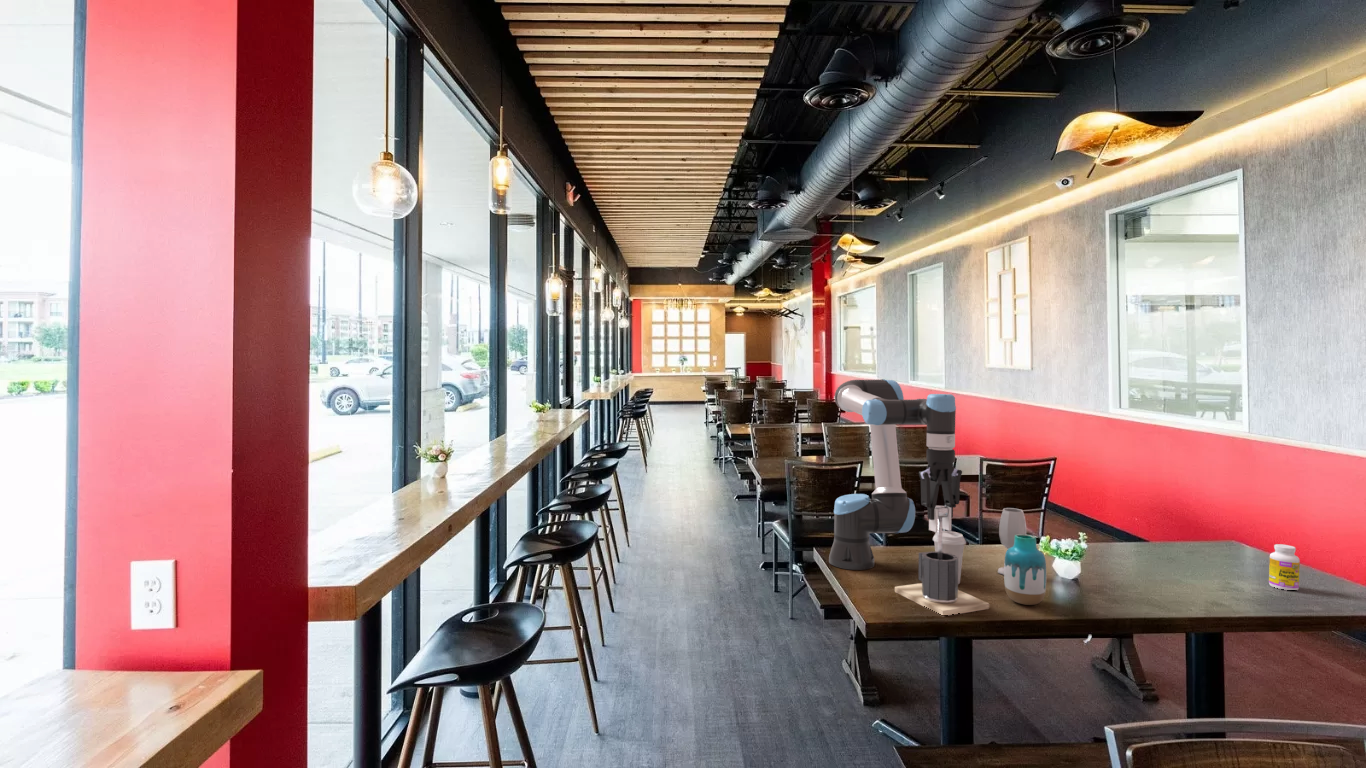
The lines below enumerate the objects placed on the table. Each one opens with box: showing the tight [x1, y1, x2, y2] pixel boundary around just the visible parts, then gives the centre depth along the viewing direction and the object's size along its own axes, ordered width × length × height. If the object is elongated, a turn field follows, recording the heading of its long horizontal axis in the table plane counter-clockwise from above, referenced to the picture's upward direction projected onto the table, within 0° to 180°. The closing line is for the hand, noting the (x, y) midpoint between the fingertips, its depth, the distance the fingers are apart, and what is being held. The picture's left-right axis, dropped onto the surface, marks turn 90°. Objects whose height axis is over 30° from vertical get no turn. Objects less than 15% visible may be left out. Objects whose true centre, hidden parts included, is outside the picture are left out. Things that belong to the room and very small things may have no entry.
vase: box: [1003, 533, 1047, 606], centre depth 179 cm, size 11×11×19 cm
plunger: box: [936, 505, 948, 560], centre depth 179 cm, size 6×6×21 cm
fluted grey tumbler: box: [918, 550, 959, 604], centre depth 181 cm, size 12×9×12 cm
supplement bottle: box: [1268, 543, 1300, 591], centre depth 192 cm, size 7×7×13 cm
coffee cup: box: [932, 530, 966, 585], centre depth 198 cm, size 10×10×15 cm
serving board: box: [894, 582, 990, 616], centre depth 182 cm, size 20×16×2 cm
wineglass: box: [997, 507, 1027, 576], centre depth 205 cm, size 9×9×21 cm
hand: (940, 530), depth 179 cm, fingers closed on plunger, 4 cm apart
